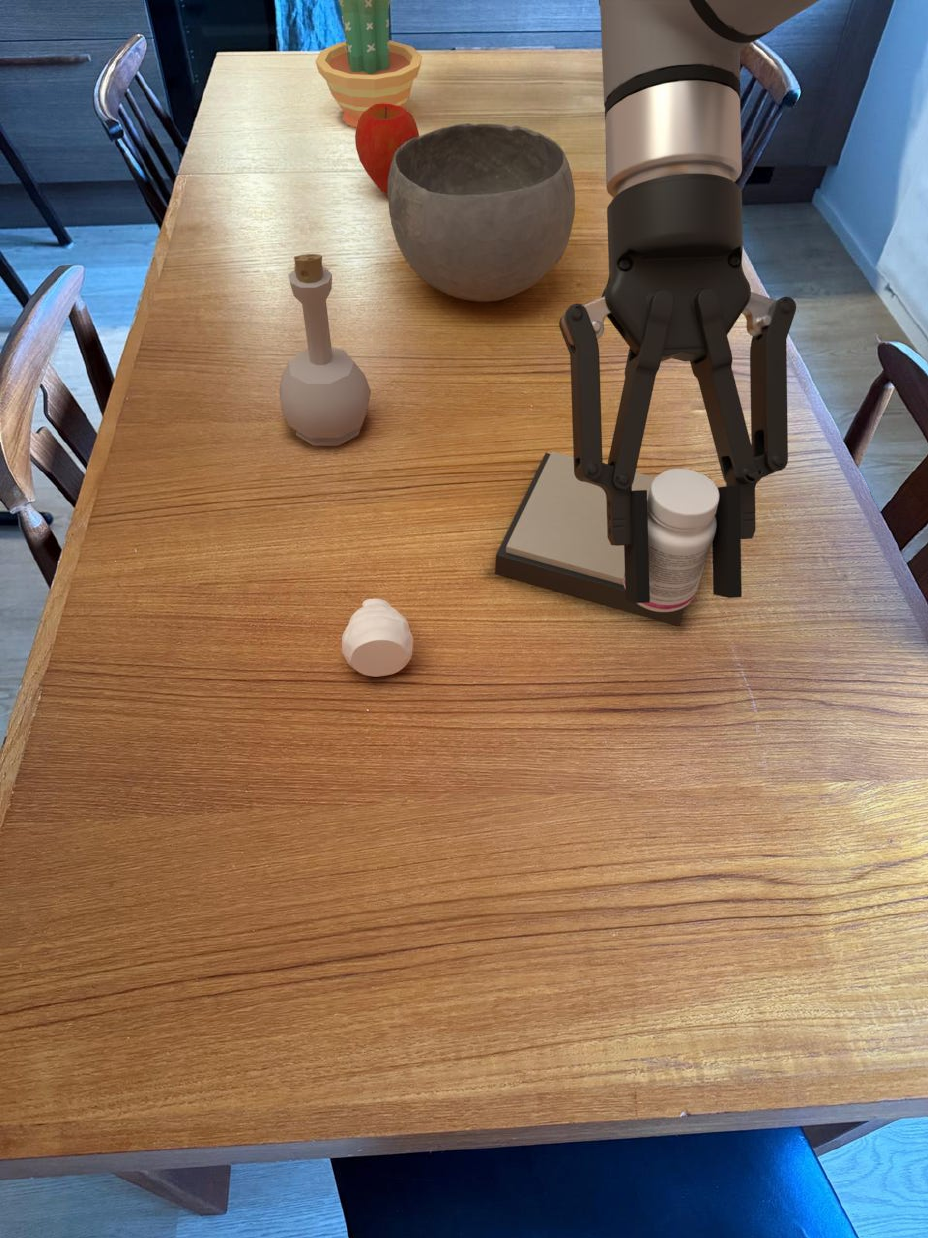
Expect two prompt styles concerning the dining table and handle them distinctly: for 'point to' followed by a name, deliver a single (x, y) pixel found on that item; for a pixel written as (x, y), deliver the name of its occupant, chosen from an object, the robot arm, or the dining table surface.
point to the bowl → (481, 208)
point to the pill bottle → (678, 536)
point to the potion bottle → (321, 368)
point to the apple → (382, 139)
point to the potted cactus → (367, 61)
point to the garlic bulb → (377, 639)
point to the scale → (569, 539)
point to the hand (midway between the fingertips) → (682, 597)
